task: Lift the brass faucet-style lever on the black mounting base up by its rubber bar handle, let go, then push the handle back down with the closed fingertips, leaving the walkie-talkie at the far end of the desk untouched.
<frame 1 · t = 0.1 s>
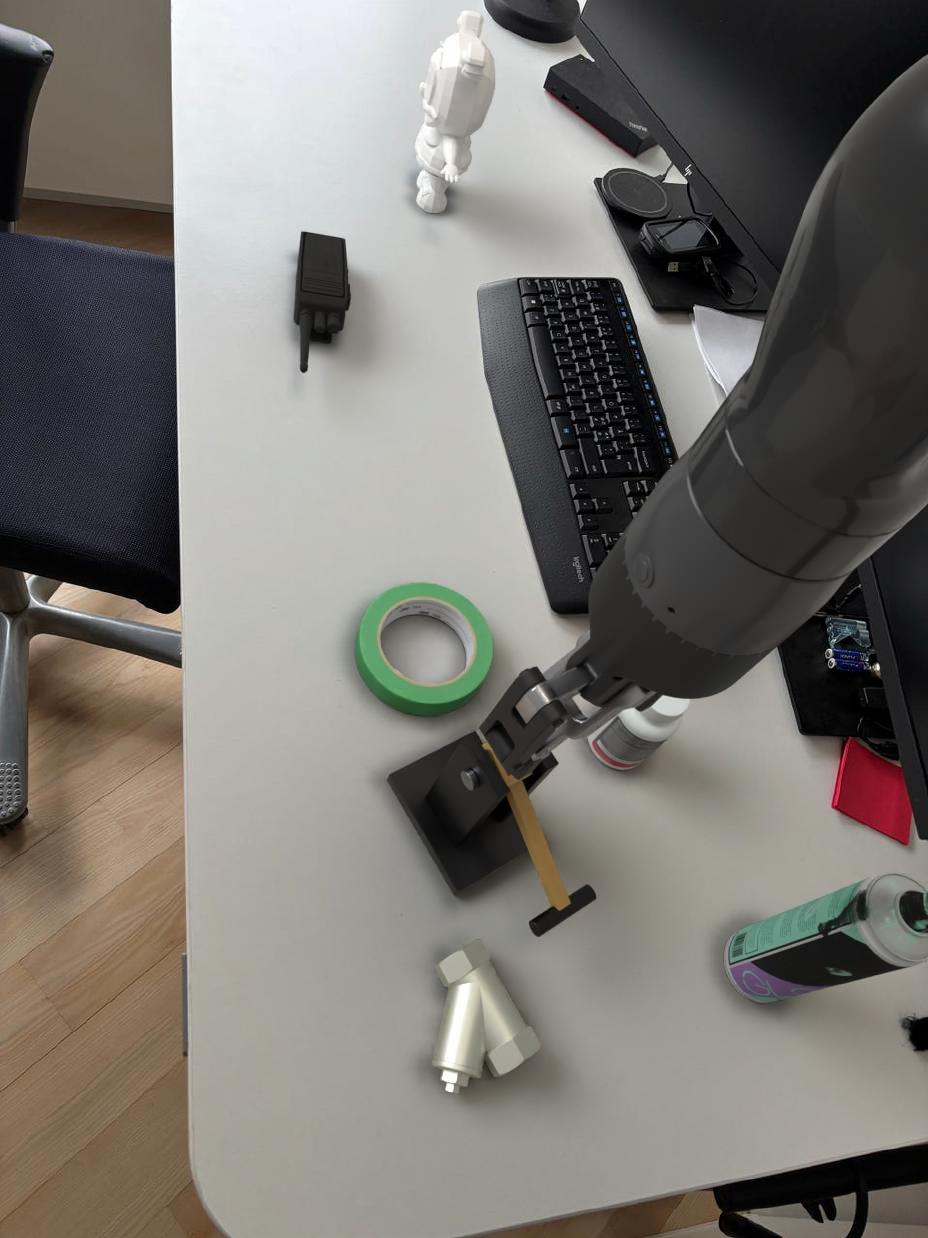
hand: (574, 727, 49), 24 cm above the table, tool pointing down, fingers open, 8 cm apart
pipe fitting: (459, 1023, 63), on the table
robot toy: (429, 195, 106), on the table
faucet lever: (531, 830, 61), point 9 cm above the table, hinge at -25.0°
tape roll: (420, 656, 76), on the table
spray can: (754, 965, 70), on the table
black mounting base: (463, 812, 70), on the table
pill bottle: (615, 741, 77), on the table
walkie-talkie: (318, 330, 92), on the table
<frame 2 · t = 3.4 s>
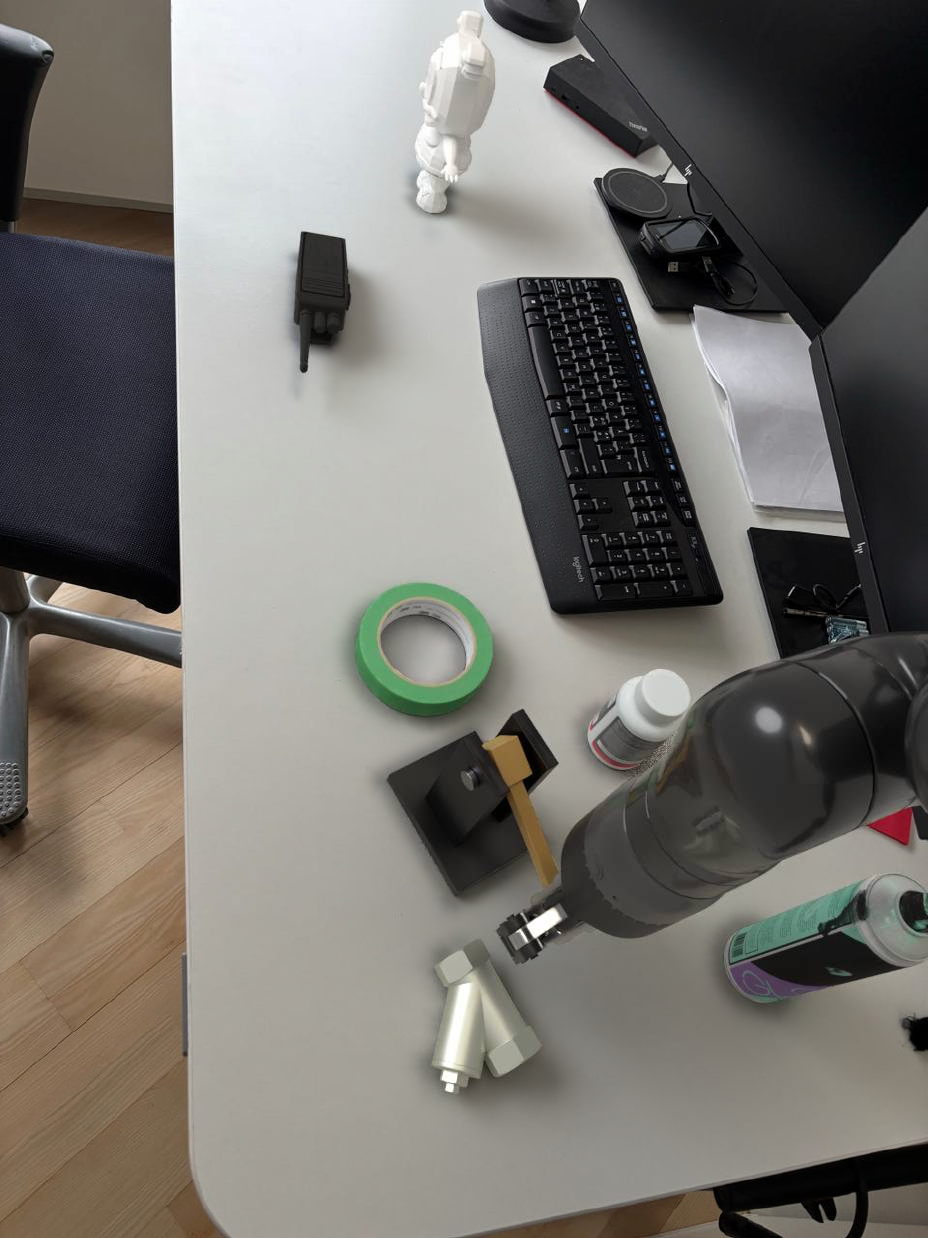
hand: (550, 918, 64), 4 cm above the table, tool pointing down, fingers closed on faucet lever, 5 cm apart
faucet lever: (531, 830, 61), point 9 cm above the table, hinge at -25.1°, touching gripper
everything else where it was.
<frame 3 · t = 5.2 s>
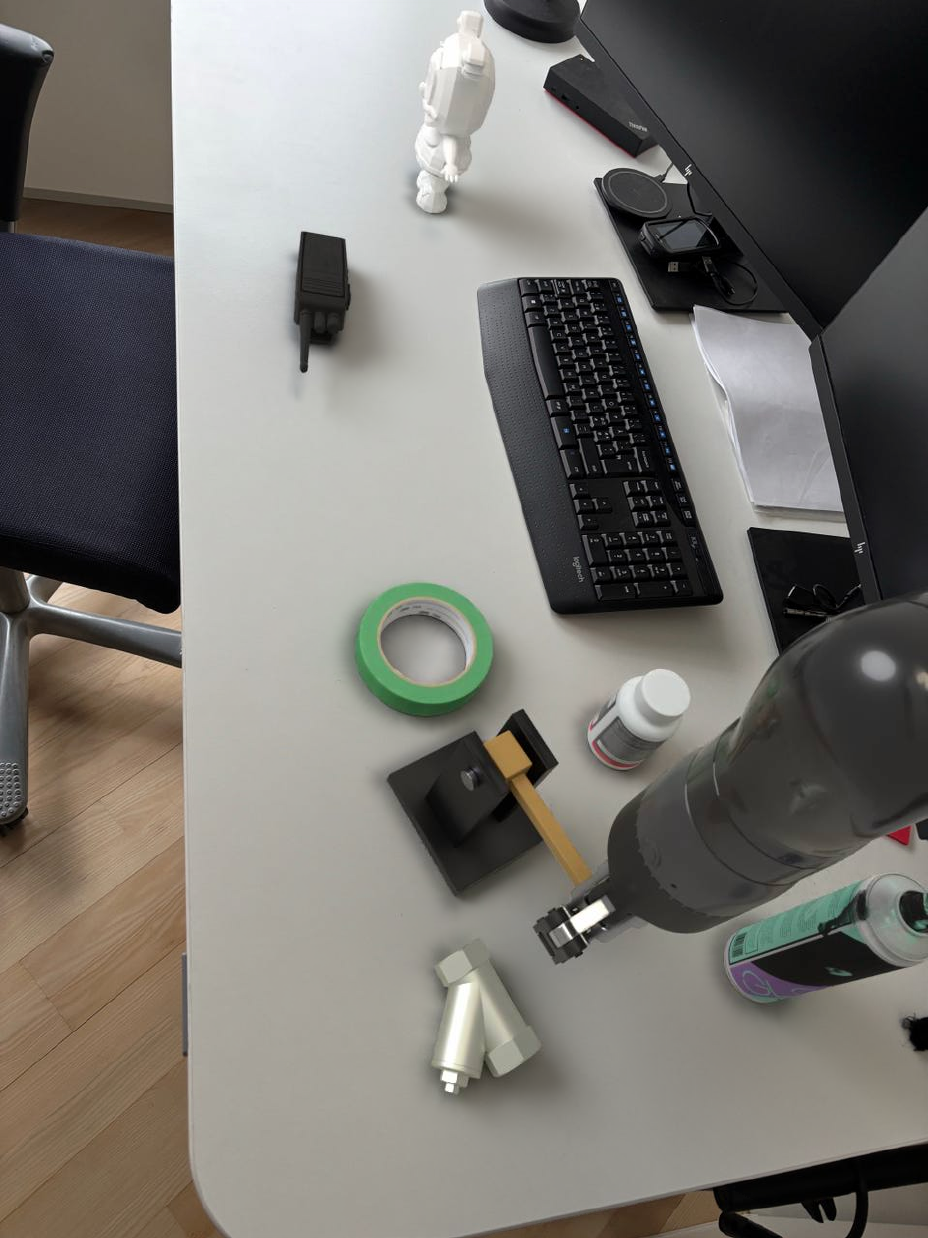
hand: (589, 914, 59), 10 cm above the table, tool pointing down, fingers closed on faucet lever, 5 cm apart
faucet lever: (547, 825, 59), point 11 cm above the table, hinge at 3.9°, touching gripper
everything else where it was.
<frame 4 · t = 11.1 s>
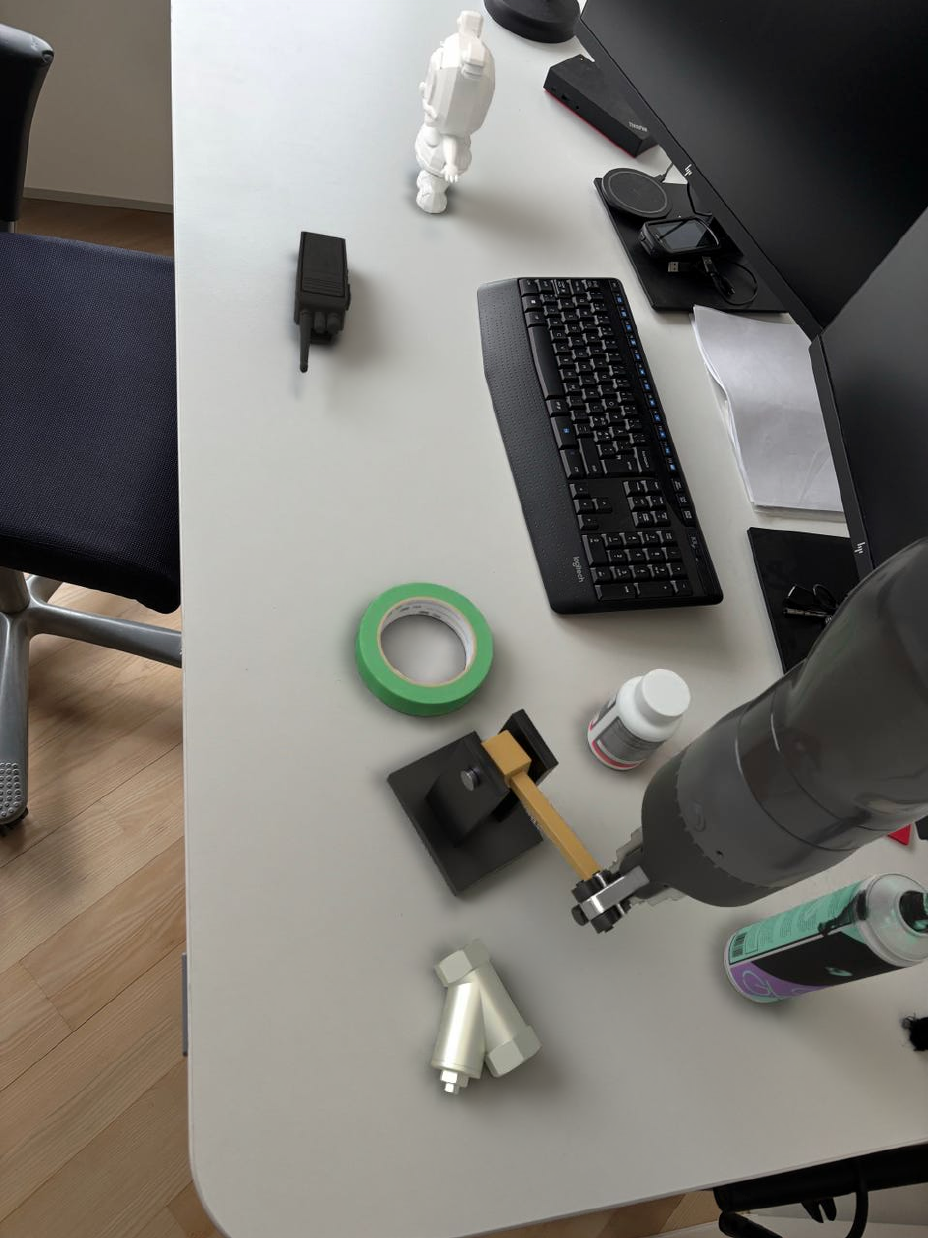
hand: (610, 892, 55), 14 cm above the table, tool pointing down, fingers closed
faucet lever: (549, 821, 59), point 12 cm above the table, hinge at 12.3°, touching gripper
everything else where it was.
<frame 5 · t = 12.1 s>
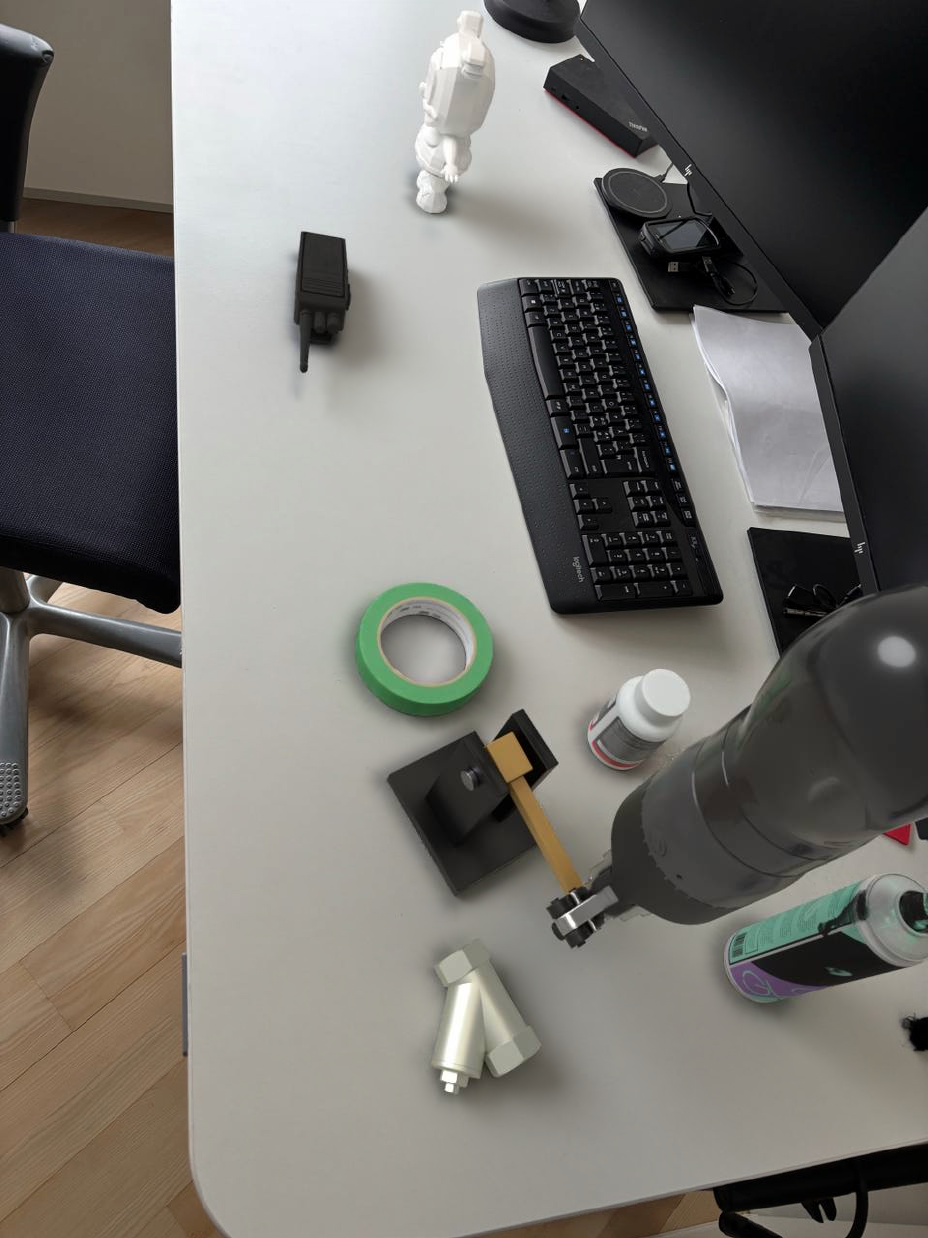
hand: (588, 906, 59), 10 cm above the table, tool pointing down, fingers closed
faucet lever: (541, 830, 60), point 10 cm above the table, hinge at -8.3°, touching gripper
everything else where it was.
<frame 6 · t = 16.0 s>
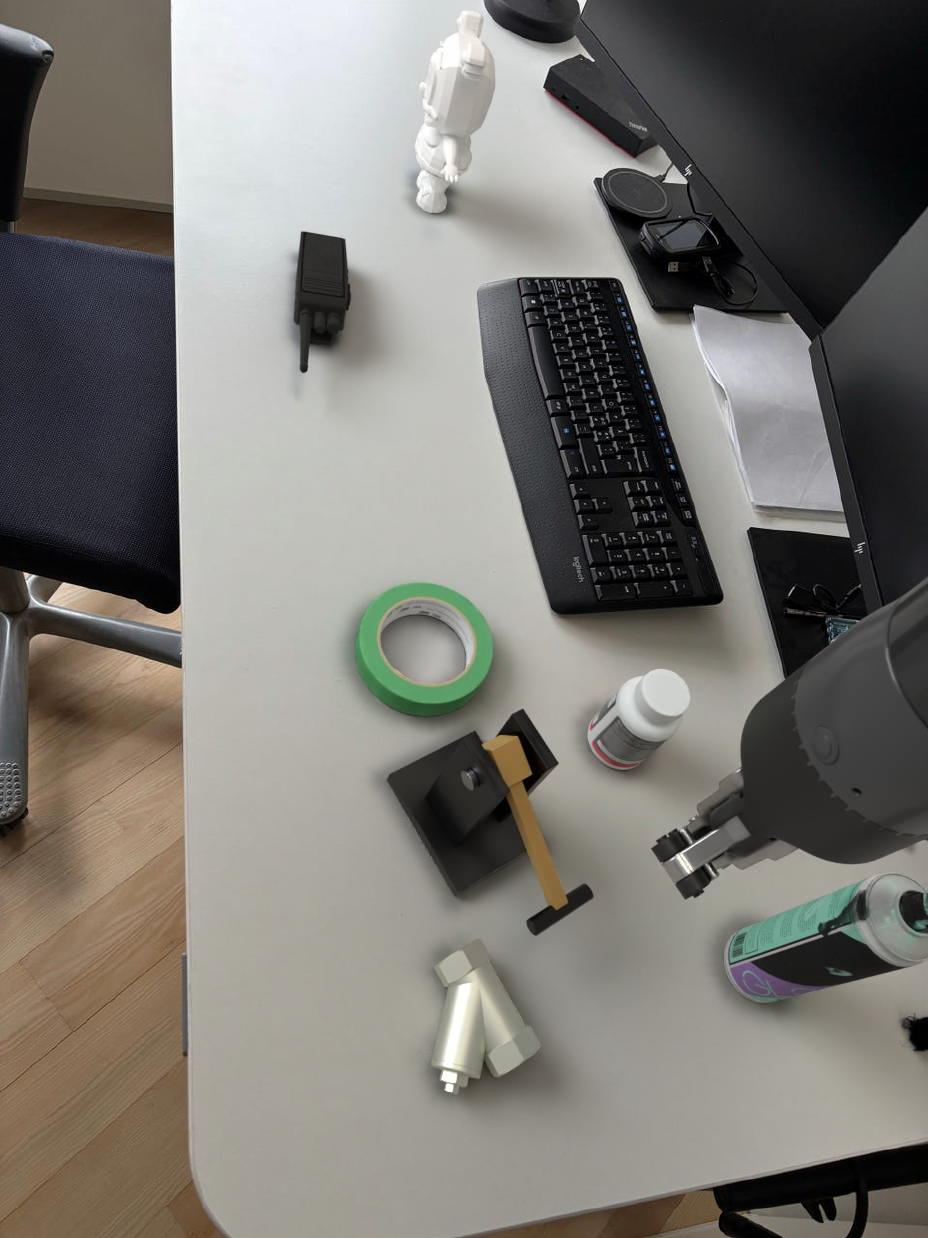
hand: (681, 858, 48), 23 cm above the table, tool pointing down, fingers closed
faucet lever: (530, 830, 62), point 9 cm above the table, hinge at -26.8°
everything else where it was.
at the end: faucet lever reached +20° during the clip, -27° at the end; faucet lever at -27° (first picture: -25°); walkie-talkie moved 0.2 cm from its start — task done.
